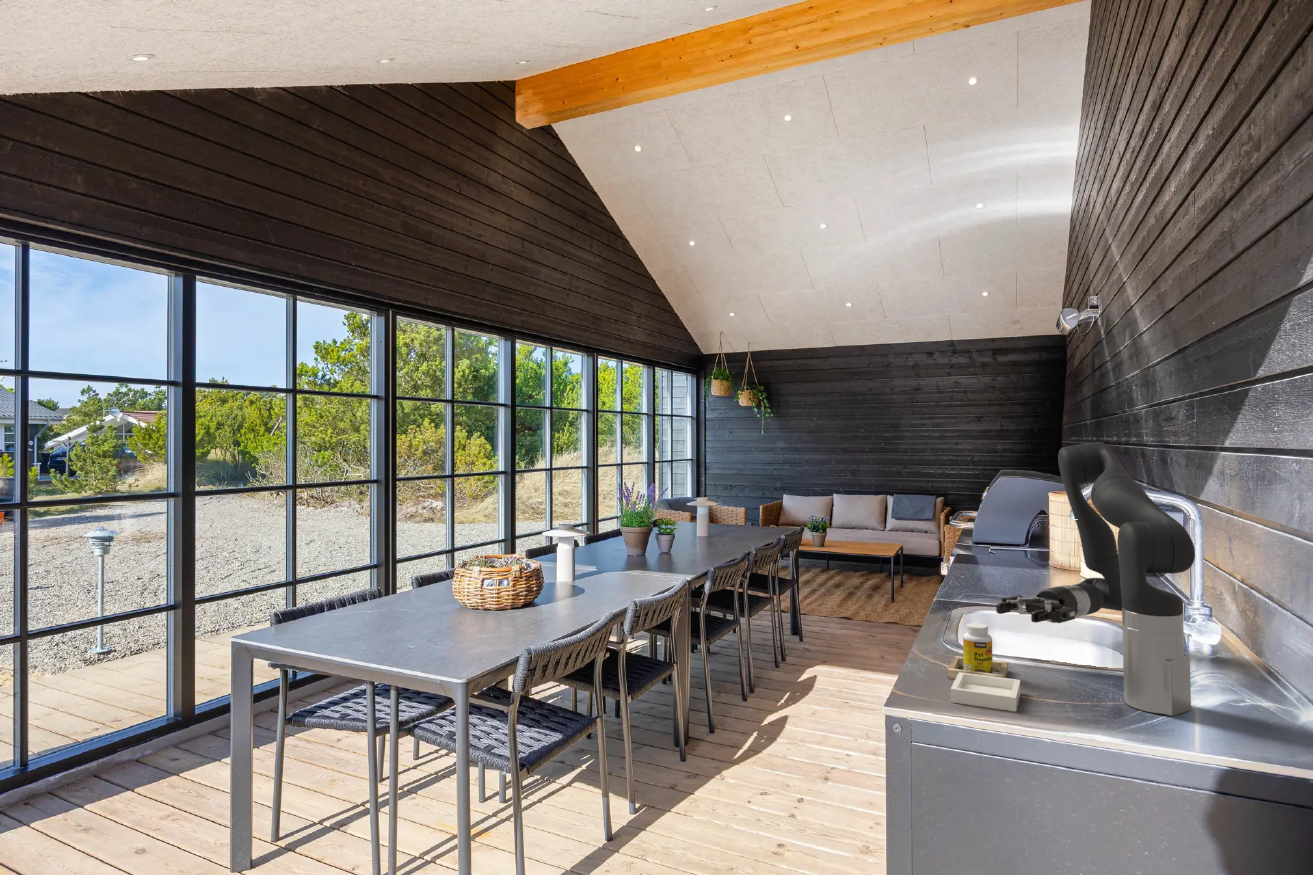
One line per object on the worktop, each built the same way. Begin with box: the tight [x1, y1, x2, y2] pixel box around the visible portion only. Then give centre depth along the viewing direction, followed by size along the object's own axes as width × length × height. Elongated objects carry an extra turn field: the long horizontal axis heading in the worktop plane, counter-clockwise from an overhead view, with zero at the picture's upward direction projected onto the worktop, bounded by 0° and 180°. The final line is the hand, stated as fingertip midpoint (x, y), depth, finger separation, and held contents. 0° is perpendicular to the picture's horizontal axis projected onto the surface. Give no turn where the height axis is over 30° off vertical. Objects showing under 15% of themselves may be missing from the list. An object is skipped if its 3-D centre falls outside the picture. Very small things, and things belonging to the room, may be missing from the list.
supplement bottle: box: [962, 622, 994, 674], centre depth 153 cm, size 6×6×10 cm
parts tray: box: [950, 672, 1022, 713], centre depth 140 cm, size 11×11×2 cm
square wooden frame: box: [947, 655, 1009, 680], centre depth 153 cm, size 10×10×2 cm
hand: (1014, 613), depth 159 cm, fingers open, 8 cm apart
